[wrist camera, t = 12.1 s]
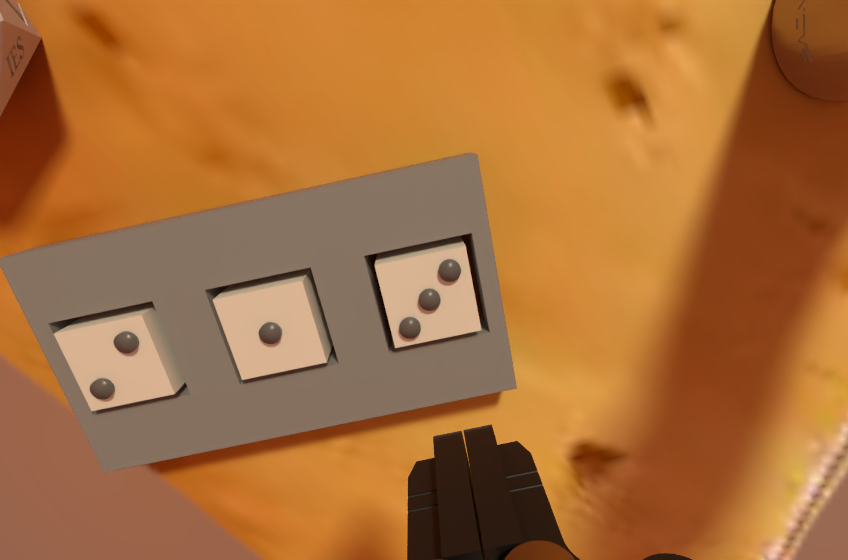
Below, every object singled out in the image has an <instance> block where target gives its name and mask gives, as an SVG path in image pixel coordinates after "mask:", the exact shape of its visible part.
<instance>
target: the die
mask: <svg viewBox="0 0 848 560" xmlns="http://www.w3.org/2000/svg"><path fill="white" fill-rule="evenodd" d="M40 40H41V36H40V35H39V33H38V32H37V30H36V29H35V27H34V26H33V24H32V23H31V21H30V20H29V18H28V17H27V15H26V14H25V12H24V11H23V9H22V8H21V6H20V5H19V4H18V3H17V2H16V0H0V116H1V114H2V112H3V110H4V108H5V106H6V105H7V103H8V101H9V99H10V97H11V95H12V93H13V91H14V89H15V88H16V86H17V84H18V82H19V80H20V78H21V76H22V74H23V72H24V70H25V69H26V67H27V65H28V63H29V61H30V59H31V57H32V55H33V53H34V51H35V50H36V48H37V46H38V44H39V42H40Z"/></svg>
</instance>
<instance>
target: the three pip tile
mask: <svg viewBox="0 0 848 560" xmlns="http://www.w3.org/2000/svg"><path fill="white" fill-rule="evenodd" d="M374 266H375V270H376V274H377V278H378V282H379V286H380V290H381V293H382V297H383V301H384V305H385V309H386V313H387V317H388V321H389V325H390V329H391V333H392V337H393V341H394V345H395V348H399V347H404V346H408V345H413V344H418V343H423V342H428V341H432V340H437V339H442V338H447V337H452V336H456V335H461V334H466V333H471V332H476V331H480V330H481V325H480V320H479V314H478V309H477V304H476V298H475V293H474V288H473V282H472V277H471V272H470V266H469V261H468V256H467V250H466V246H465V244H464V242H463V240H462V238H461V236H455V237H451V238H446V239H441V240H437V241H432V242H427V243H423V244H418V245H413V246H409V247H404V248H399V249H394V250H390V251H385V252H380V253H377V257H376V261H375V265H374Z"/></svg>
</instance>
